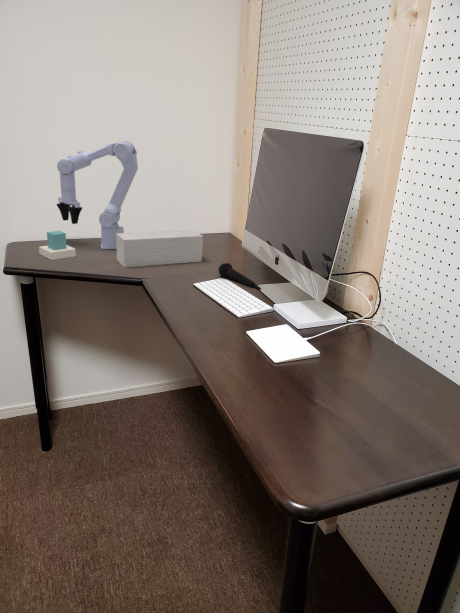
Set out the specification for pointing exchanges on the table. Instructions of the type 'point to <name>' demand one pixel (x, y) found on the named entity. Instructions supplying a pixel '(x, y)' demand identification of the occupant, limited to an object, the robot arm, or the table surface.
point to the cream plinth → (57, 252)
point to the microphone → (235, 275)
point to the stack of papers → (158, 247)
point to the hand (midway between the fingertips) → (70, 221)
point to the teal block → (56, 240)
